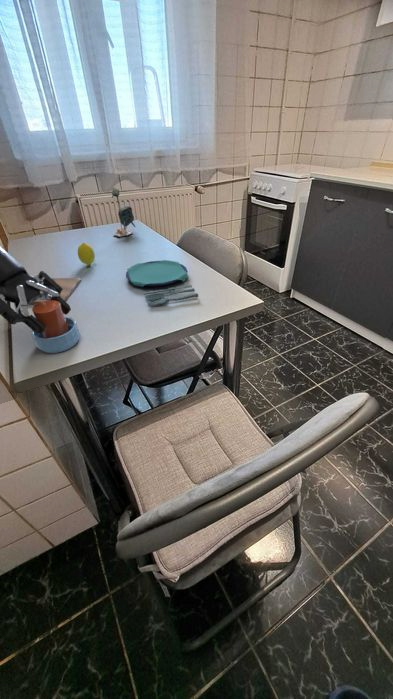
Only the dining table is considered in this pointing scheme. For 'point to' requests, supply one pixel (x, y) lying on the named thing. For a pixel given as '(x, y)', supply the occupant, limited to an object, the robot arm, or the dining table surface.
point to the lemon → (86, 254)
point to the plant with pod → (123, 216)
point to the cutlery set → (159, 279)
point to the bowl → (58, 339)
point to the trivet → (67, 286)
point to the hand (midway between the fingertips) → (56, 321)
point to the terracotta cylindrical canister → (51, 318)
